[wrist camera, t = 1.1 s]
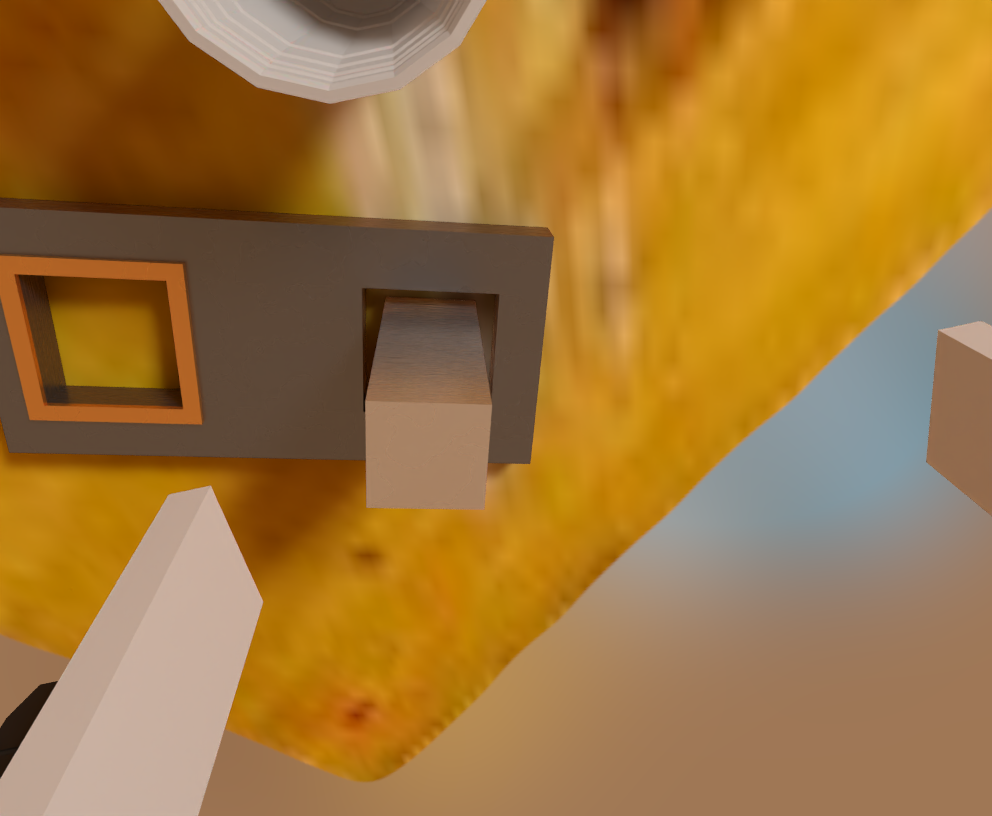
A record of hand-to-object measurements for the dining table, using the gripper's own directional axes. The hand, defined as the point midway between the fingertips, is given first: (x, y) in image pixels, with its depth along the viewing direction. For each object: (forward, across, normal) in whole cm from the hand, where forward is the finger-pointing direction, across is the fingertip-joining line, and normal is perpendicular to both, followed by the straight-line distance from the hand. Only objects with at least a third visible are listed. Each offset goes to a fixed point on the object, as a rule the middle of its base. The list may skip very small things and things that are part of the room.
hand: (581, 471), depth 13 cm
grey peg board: (+24, -12, -4) cm, 26 cm away
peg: (+24, -4, -6) cm, 25 cm away
